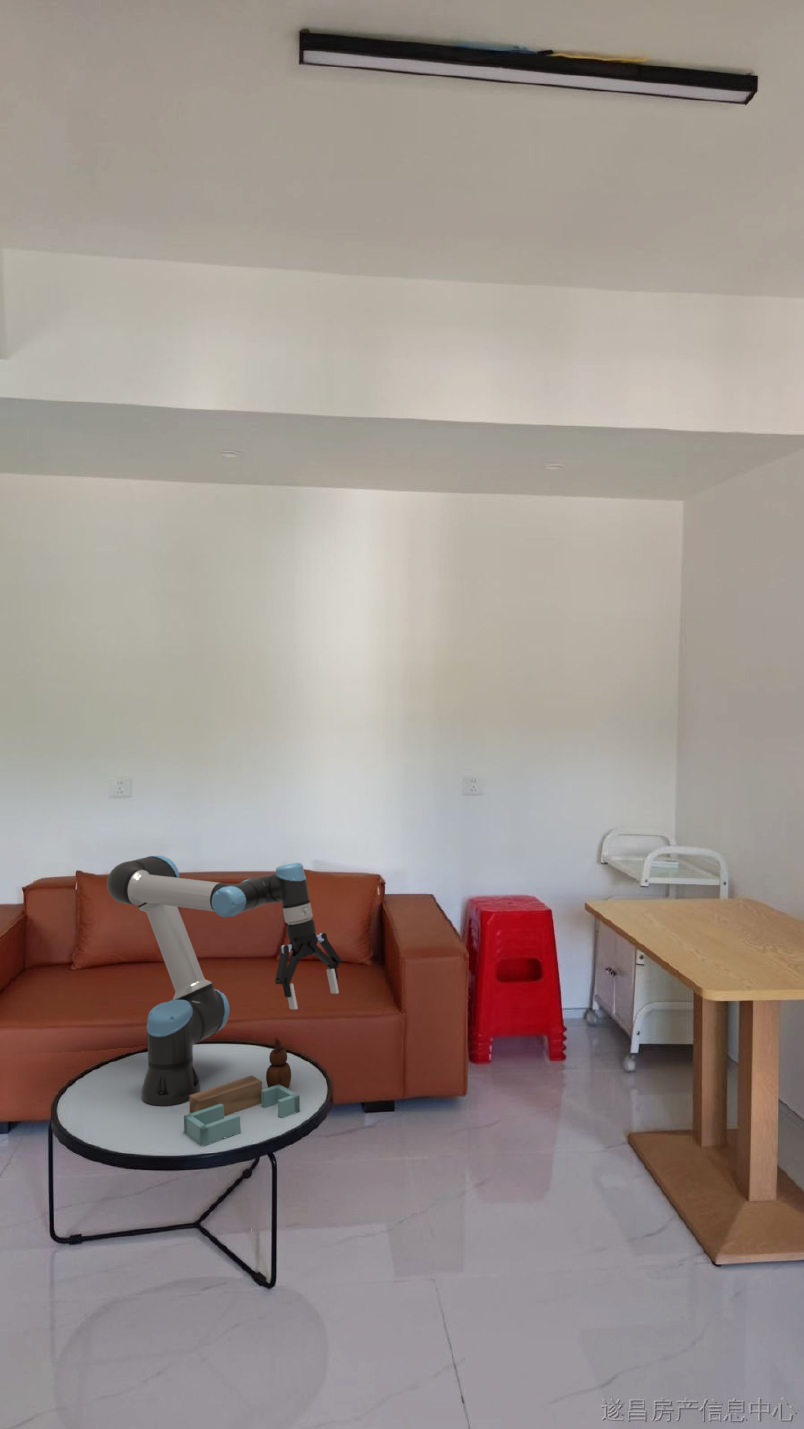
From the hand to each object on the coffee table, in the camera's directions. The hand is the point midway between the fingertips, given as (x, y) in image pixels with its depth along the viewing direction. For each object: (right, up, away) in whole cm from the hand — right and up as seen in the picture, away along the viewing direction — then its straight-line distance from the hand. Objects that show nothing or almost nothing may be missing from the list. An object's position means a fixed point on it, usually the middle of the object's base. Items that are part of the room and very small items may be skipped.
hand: (314, 1000), depth 228 cm
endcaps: (-16, -25, -15) cm, 33 cm away
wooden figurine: (-10, -25, +2) cm, 27 cm away
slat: (-22, -25, -9) cm, 35 cm away
